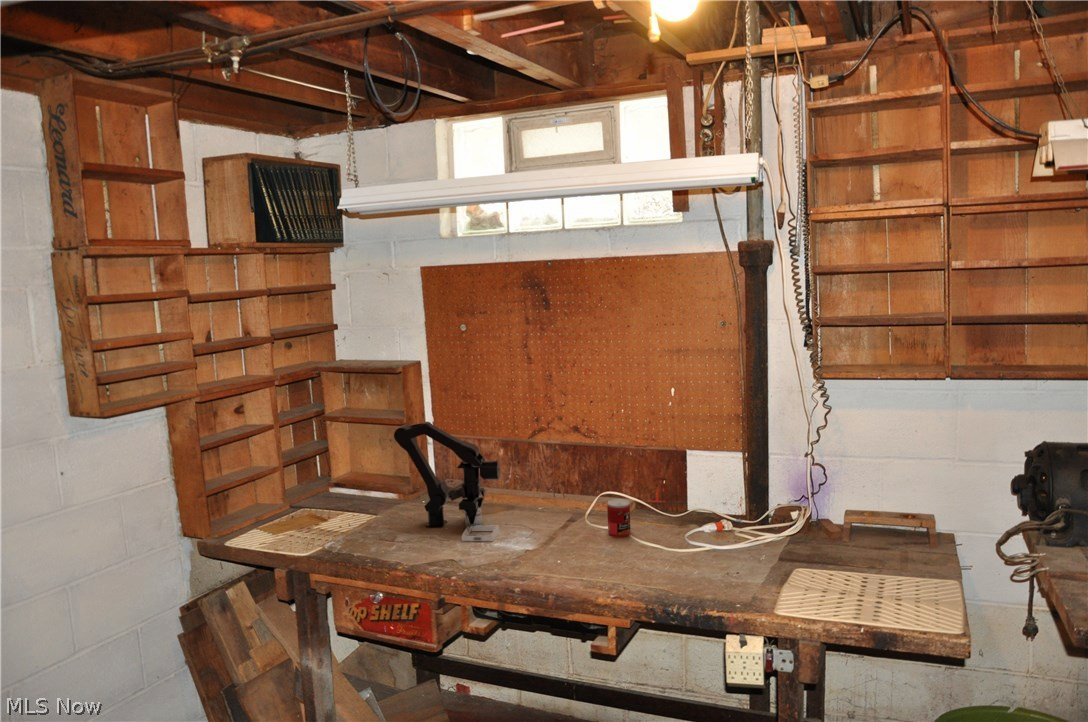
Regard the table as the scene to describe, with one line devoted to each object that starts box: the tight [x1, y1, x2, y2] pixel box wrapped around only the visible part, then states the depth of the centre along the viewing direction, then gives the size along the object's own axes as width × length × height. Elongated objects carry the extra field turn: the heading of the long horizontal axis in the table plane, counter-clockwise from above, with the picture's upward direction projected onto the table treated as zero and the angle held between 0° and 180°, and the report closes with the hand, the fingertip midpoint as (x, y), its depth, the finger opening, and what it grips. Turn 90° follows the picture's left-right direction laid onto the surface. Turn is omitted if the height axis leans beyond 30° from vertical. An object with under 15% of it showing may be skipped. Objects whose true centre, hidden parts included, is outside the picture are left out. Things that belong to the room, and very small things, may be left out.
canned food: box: [606, 498, 631, 538], centre depth 274 cm, size 8×8×11 cm
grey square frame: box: [461, 524, 500, 542], centre depth 277 cm, size 12×11×2 cm
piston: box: [464, 507, 483, 528], centre depth 290 cm, size 6×6×6 cm
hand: (473, 521), depth 290 cm, fingers closed on piston, 6 cm apart
